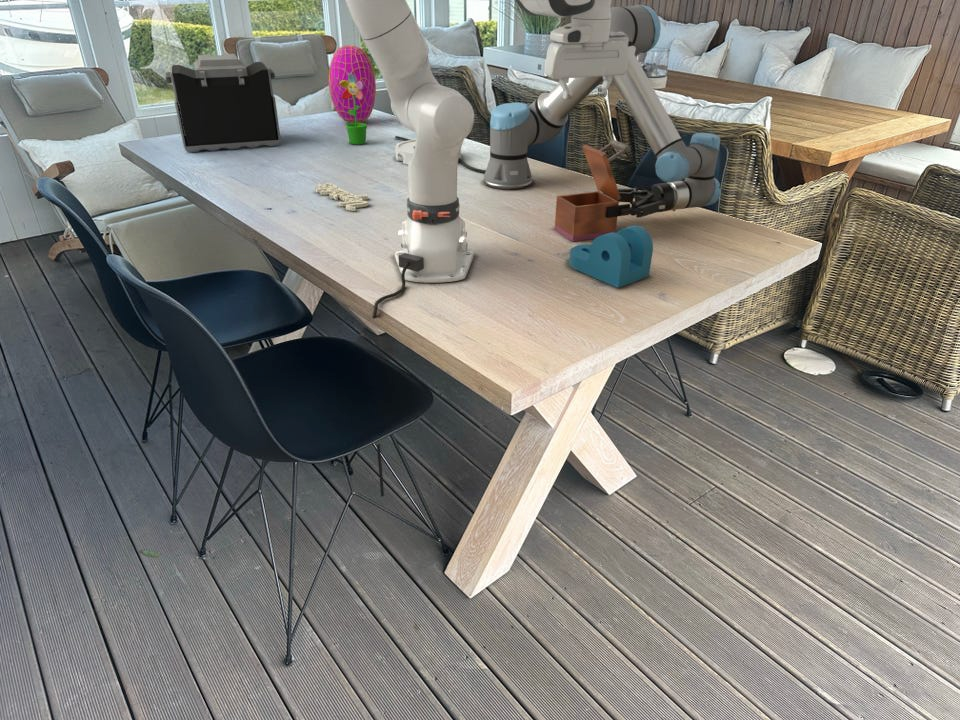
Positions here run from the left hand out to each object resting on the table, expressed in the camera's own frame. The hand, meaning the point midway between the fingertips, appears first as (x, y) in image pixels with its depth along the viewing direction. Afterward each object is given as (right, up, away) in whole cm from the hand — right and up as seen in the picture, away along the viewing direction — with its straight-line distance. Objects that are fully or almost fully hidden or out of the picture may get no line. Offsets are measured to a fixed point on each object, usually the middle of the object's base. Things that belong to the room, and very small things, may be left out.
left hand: (584, 97), depth 162 cm
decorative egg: (-78, +39, +132) cm, 158 cm away
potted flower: (-71, +21, +100) cm, 125 cm away
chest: (+3, -28, +18) cm, 34 cm away
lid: (+6, -15, +12) cm, 20 cm away
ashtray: (-43, +10, +82) cm, 93 cm away
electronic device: (-118, +20, +98) cm, 155 cm away
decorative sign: (-65, -14, +42) cm, 78 cm away
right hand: (+5, -22, +16) cm, 28 cm away
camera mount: (+4, -41, -3) cm, 41 cm away
